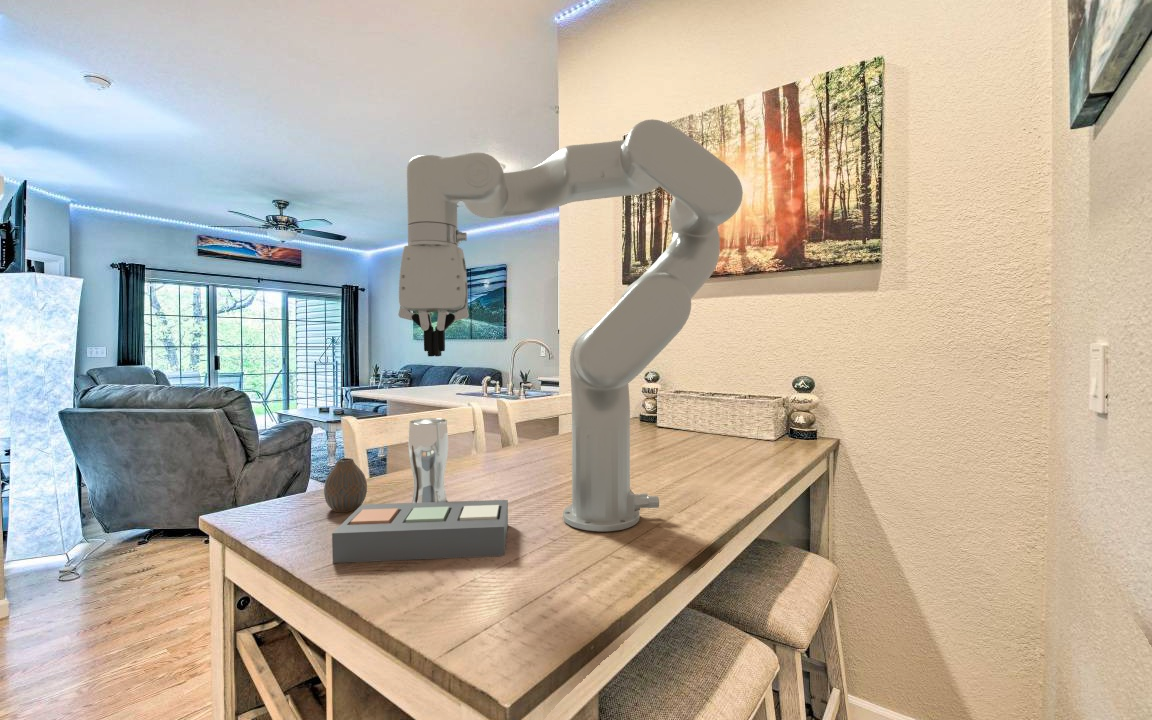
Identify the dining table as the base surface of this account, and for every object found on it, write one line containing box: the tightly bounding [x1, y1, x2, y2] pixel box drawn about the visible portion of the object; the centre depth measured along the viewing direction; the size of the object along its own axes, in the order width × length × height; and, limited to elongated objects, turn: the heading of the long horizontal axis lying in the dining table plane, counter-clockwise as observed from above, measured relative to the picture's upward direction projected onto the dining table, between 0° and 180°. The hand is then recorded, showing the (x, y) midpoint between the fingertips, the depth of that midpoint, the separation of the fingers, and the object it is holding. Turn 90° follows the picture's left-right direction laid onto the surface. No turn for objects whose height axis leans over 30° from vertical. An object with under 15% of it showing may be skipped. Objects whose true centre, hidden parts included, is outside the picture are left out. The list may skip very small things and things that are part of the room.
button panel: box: [331, 499, 509, 564], centre depth 74 cm, size 23×12×4 cm, turn 95°
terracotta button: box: [350, 508, 398, 525], centre depth 74 cm, size 5×5×4 cm
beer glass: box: [408, 417, 449, 503], centre depth 93 cm, size 7×7×15 cm
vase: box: [323, 457, 368, 513], centre depth 90 cm, size 7×7×9 cm
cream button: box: [460, 505, 499, 521], centre depth 75 cm, size 5×5×4 cm
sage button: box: [406, 507, 449, 523], centre depth 74 cm, size 5×5×4 cm
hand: (434, 355), depth 81 cm, fingers closed
